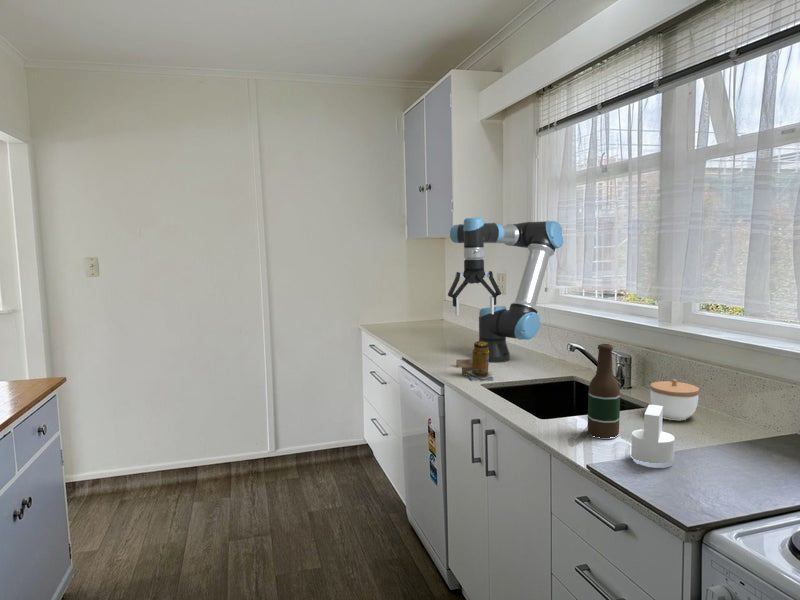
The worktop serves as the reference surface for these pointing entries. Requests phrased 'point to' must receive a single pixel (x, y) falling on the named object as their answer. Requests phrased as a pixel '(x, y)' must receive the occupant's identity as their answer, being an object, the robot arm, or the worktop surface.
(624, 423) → the worktop surface
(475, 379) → the coaster
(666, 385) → the lidded bowl
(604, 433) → the beer bottle
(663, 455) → the base with upright slab
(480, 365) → the condiment
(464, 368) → the rack
